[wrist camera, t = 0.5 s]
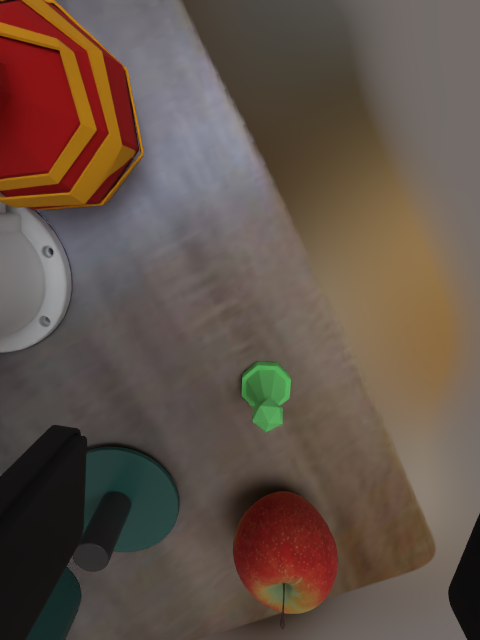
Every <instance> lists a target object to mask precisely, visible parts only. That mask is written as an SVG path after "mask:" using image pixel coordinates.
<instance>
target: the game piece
mask: <svg viewBox="0 0 480 640" xmlns="http://www.w3.org/2000/svg"><path fill="white" fill-rule="evenodd" d="M290 386H291V378H290V375H289V374H288V373H287V372H286V371H285V370H284V369H283V368H282V367H281V366H280V365H279V364H278V363H277V362H256V363H255V364H254V365H252V366H251V367H250V368H249V369H248V370H247V371H245V372H244V373H243V374H242V397H243V398H244V399H245V400H246V401H247V402H248V403H249V404H250V405H251V406H252V407H253V418H252V421H253V422H254V423H255V424H256V425H258V426H259V427H260V428H261V429H263V430H264V431H265V432H268V431H270V430H272V429H274V428H276V427H278V426H280V425H282V424H283V408H282V407H280V405H282V404H283V403H284V402H285V401H287V400H288V399H289V398H290Z"/></svg>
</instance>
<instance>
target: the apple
mask: <svg viewBox="0 0 480 640" xmlns="http://www.w3.org/2000/svg"><path fill="white" fill-rule="evenodd" d="M233 555H234V562H235V566H236V569H237V572H238V574H239V577H240V579H241V581H242V582H243V584H244V585H245V587H246V588H247V589H248V591H249V592H250V593H251V594H252V595H253V596H254V597H255V598H256V599H258V600H259V601H260V602H261V603H263V604H264V605H266V606H268V607H270V608H272V609H274V610H276V611H279V612H282V615H281V622H280V626H281V628H282V629H284V627H285V624H284V613H303V612H307V611H309V610H312V609H313V608H315V607H317V606H318V605H320V604H321V603H322V601H323V600H324V599H325V598H326V597H327V595H328V594H329V592H330V590H331V588H332V587H333V584H334V581H335V577H336V574H337V565H338V556H337V549H336V544H335V541H334V538H333V536H332V534H331V532H330V530H329V528H328V526H327V524H326V522H325V521H324V519H323V518H322V516H321V515H320V514H319V512H318V511H317V510H316V509H315V508H314V507H313V506H312V505H311V504H310V503H309V502H308V501H307V500H306V499H304V498H303V497H301V496H299V495H297V494H295V493H292V492H287V491H278V492H274V493H271V494H268V495H266V496H264V497H262V498H261V499H259V500H258V501H256V502H255V503H254V504H253V505H252V506H251V507H250V508H249V509H248V510H247V511H246V512H245V514H244V515H243V516H242V518H241V520H240V522H239V524H238V526H237V529H236V532H235V536H234V542H233Z"/></svg>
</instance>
